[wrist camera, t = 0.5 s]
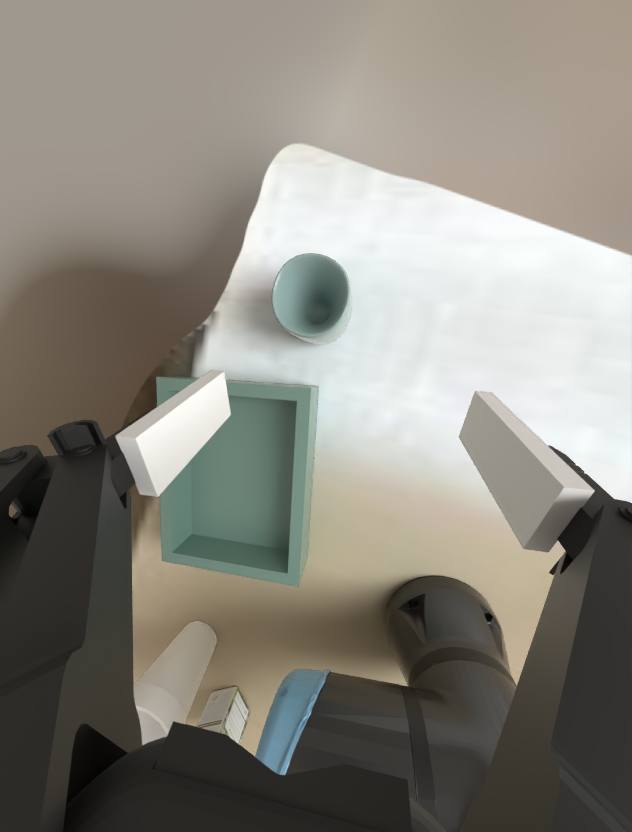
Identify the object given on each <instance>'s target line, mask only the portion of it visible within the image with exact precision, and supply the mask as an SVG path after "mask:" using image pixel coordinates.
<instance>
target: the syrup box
mask: <svg viewBox="0 0 632 832" xmlns="http://www.w3.org/2000/svg"><path fill="white" fill-rule="evenodd" d="M249 714H250V711H249V709H248V707H247V705H246V703H245V701H244V700H243V698H242V696H241V694H240V692H239V690H238V688H237V687H230V688H226V689H221V690H217V691H213V692H212V693H211V695H210V697H209V699H208V702H207V704H206V706H205V708H204V711H203V713H202V715H201V717H200V719H199V722H198V724H197V726H196V727H198V728H203V729H207V730H211V731H215V732H219V733H223V734H226V735H228V736H229V737H230V738H231V739H233V740H234V741H235V742H237V743H238V744H239V745H240V743H241V740H242V737H243V733H244V730H245V727H246V724H247V721H248V718H249Z"/></svg>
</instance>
